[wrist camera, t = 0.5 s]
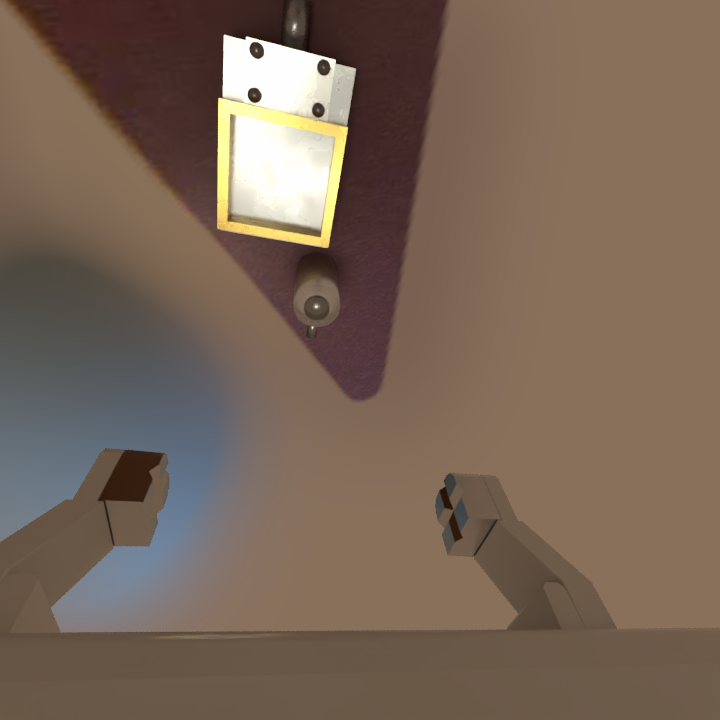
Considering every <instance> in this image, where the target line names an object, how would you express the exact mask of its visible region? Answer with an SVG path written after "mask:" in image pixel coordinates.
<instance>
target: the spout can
mask: <svg viewBox="0 0 720 720" xmlns="http://www.w3.org/2000/svg"><path fill="white" fill-rule="evenodd" d="M293 309H294V312H295V315H296V316H297V318H298V319H299V320H300V321H301V322H303V323H304V324H306V325H308V326H307V333H306V337H308V338H310V339H314V338H316V334H317V328H318V327H322V326H325V325H328V324H330V323H331V322H333V321H334V320H335V319H336V317H337V316H338V314H339V311H340V300H339V290H338V280H337V270H336V266H335V263H334V262H333V260H332V259H331V258H330V257H328V256H327V255H325V254H322V253H310V254H308V255H306V256H304V257H303V258H302V259H301V260H300V262H299V264H298V266H297V274H296V283H295V293H294V302H293Z"/></svg>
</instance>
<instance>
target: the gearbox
mask: <svg viewBox="0 0 720 720" xmlns="http://www.w3.org/2000/svg"><path fill="white" fill-rule="evenodd" d="M310 10H311V2H310V1H308V0H284V8H283V21H282V34H281V45H277V44H273V43H269V42H265V41H261V40H257V39H254V38H250V37H246V40H243V39H239V38H235V37H231V36H227V35H224V53H223V97H222V98H219V111H218V212H217V229H221V230H224V231H230V232H235V233H241V234H247V235H253V236H259V237H265V238H270V239H276V240H282V241H288V242H294V243H300V244H305V245H311V246H317V247H323V248H328V246H329V240H330V234H331V228H332V222H333V216H334V210H335V204H336V198H337V192H338V186H339V180H340V174H341V168H342V162H343V155H344V149H345V143H346V137H347V131H348V127H347V122H348V116H349V110H350V103H351V97H352V91H353V85H354V79H355V73H356V69H355V68H351V67H347V66H344V65H340V64H336V60H335V59H331V58H327V57H323V56H319V55H315V54H311V53H308V52H306V48H307V39H308V29H309V20H310Z"/></svg>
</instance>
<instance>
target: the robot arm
mask: <svg viewBox="0 0 720 720" xmlns="http://www.w3.org/2000/svg"><path fill="white" fill-rule="evenodd" d="M167 464H168V458H167V454H165V453H155V452H144V451H134V450H120V449H110V448H105V449H104V450H103V451H102V452H101V453H100V454H99V456H98V458H97V459H96V461H95V463H94V464H93V466H92V468H91V470H90V471H89V473H88V475H87V476H86V478H85V480H84V482H83V483H82V485H81V486H80V488H79V490H78V491H77V493H76V495H75V497H74V498H73V500H65V501H63V502H62V503H60V504H58V505H57V506H55V507H54V508H52V509H51V510H49V511H48V512H46V513H45V514H43V515H41V516H40V517H39V518H37V519H35V520H34V521H32V522H31V523H29V524H28V525H26V526H24V527H23V528H21V529H20V530H18V531H17V532H15V533H14V534H12V535H11V536H9V537H7V538H6V539H4V540H3V541H1V542H0V720H720V628H672V629H671V628H670V629H668V628H667V629H666V628H664V629H663V628H660V629H617V627H616V626H615V624H614V622H613V621H612V619H611V617H610V615H609V613H608V611H607V609H606V608H605V606H604V604H603V602H602V600H601V598H600V597H599V595H598V593H597V591H596V589H595V588H594V586H593V584H592V583H591V581H590V580H588V579H587V578H586V577H585V576H584V575H583V574H582V573H580V572H579V571H578V570H577V569H576V568H575V567H573V565H571V564H570V563H569V562H568V561H567V560H566V559H564V558H563V557H562V556H561V555H560V554H559V553H558V552H556V551H555V550H554V549H553V548H552V547H551V546H550V545H549V544H548V543H546V542H545V541H544V540H543V539H542V538H541V537H540V536H538V535H537V534H536V533H535V532H534V531H533V530H532V529H530V528H529V527H528V526H527V525H526V524H525V523H524V522H521V521H518V520H517V517H516V516H515V514H514V511H513V509H512V507H511V505H510V503H509V501H508V499H507V496H506V494H505V492H504V490H503V488H502V486H501V484H500V482H499V480H498V478H497V477H496V476H489V475H477V474H459V473H449V474H448V475H446V477H445V479H444V483H445V487H444V488H442V489H441V490H439V492H438V495H437V497H436V504H435V508H436V515H437V519H438V522H439V523H440V524H441V525H442V526H443V527H444V528H445V529H444V531H443V533H442V537H443V541H444V544H445V547H446V551H447V554H448V555H453V556H469V557H474V559H475V560H476V562H477V563H478V564H479V565H480V566H481V568H482V569H483V570H484V572H485V573H486V574H487V575H488V577H489V578H490V579H491V580H492V581H493V583H494V584H495V585H496V586H497V588H498V589H499V590H500V591H501V593H502V594H503V595H504V596H505V598H506V599H507V600H508V601H509V603H510V604H511V605H512V606H513V608H514V609H515V610H516V611H517V613H518V615H517V616H516V617H515V619H514V620H513V621H512V622H511V623H510V625H509V626H508V628H507V630H386V631H385V630H376V631H375V630H372V631H368V630H366V631H229V632H227V631H226V632H223V631H222V632H85V633H84V632H83V633H82V632H79V633H60V630H59V627H58V625H57V623H56V620H55V618H54V615H53V613H52V610H51V606H53V605H54V604H55V603H56V602H57V601H58V600H59V599H60V598H61V597H62V596H63V595H64V594H65V593H66V592H68V591H69V590H70V589H71V588H72V587H73V586H74V585H75V584H76V583H77V582H78V581H79V580H80V579H81V578H82V577H84V576H85V575H86V574H87V573H88V572H89V571H90V570H91V569H92V568H93V567H94V566H95V565H96V564H97V563H98V562H99V561H101V559H103V558H104V557H105V556H106V555H107V554H108V553H109V552H110V551H111V550H112V549H113V546H150V543H151V540H152V538H153V535H154V532H155V529H156V527H157V524H158V521H157V513H158V512H159V511H160V510H162V509H163V507H164V504H165V502H166V498H167V494H168V489H169V473H168V472H167V471H166V467H167Z"/></svg>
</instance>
